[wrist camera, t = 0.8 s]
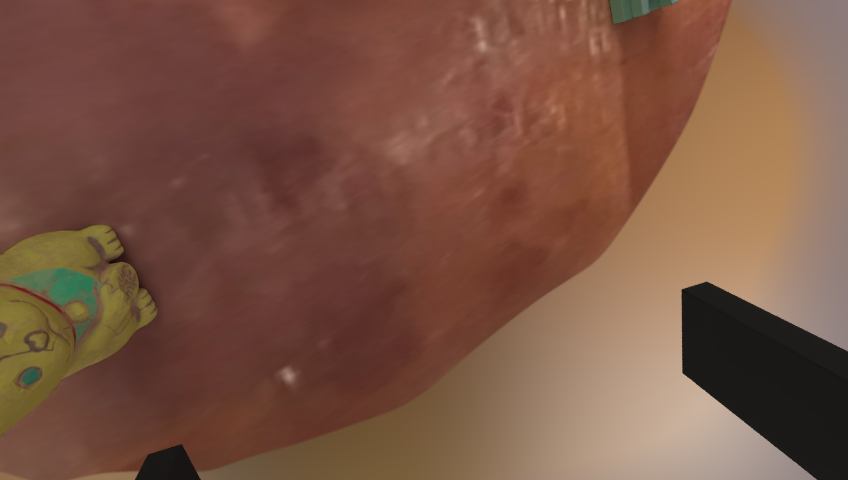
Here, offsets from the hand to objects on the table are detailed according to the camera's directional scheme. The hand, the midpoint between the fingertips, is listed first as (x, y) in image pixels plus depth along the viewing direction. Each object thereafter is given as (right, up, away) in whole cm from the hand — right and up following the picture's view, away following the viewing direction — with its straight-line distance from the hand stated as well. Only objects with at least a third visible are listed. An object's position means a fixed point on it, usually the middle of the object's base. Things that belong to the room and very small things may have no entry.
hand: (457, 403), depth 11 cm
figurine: (-27, +2, +22) cm, 35 cm away
